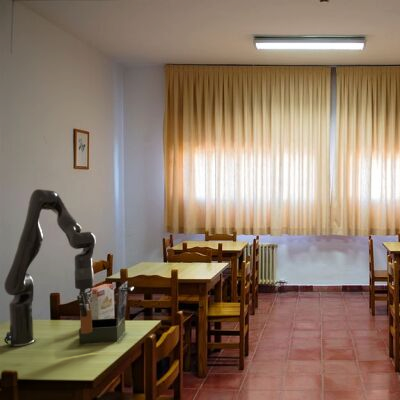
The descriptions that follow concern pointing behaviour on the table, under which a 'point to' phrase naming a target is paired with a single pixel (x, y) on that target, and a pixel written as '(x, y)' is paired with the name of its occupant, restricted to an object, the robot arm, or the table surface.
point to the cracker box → (102, 302)
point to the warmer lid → (122, 302)
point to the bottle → (86, 321)
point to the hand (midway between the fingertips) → (85, 314)
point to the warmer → (103, 331)
